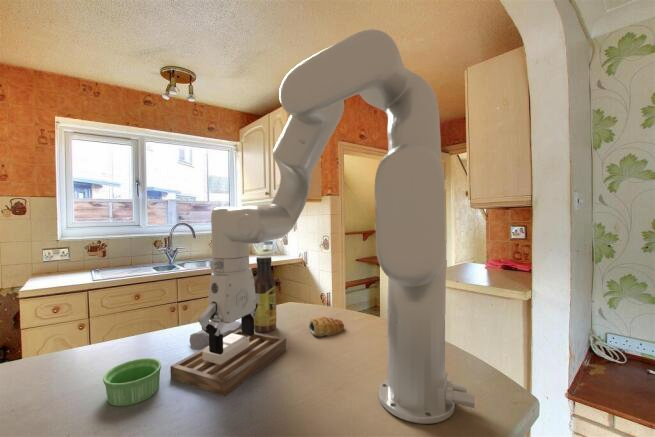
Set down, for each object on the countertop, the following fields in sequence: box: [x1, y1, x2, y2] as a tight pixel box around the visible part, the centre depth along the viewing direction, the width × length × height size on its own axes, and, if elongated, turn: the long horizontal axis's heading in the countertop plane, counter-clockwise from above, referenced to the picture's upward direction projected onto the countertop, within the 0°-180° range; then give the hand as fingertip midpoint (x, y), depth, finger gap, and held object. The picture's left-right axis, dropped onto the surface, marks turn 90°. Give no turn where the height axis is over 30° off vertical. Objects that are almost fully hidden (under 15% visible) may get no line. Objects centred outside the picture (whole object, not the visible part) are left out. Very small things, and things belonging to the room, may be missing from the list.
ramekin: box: [102, 357, 162, 407], centre depth 57 cm, size 9×9×4 cm
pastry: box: [308, 316, 345, 337], centre depth 84 cm, size 9×7×4 cm
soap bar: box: [202, 333, 249, 365], centre depth 68 cm, size 5×9×3 cm, turn 155°
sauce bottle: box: [253, 255, 277, 333], centre depth 86 cm, size 6×6×20 cm
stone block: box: [189, 320, 242, 350], centre depth 80 cm, size 12×5×10 cm
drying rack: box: [169, 329, 287, 397], centre depth 68 cm, size 14×20×2 cm
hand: (233, 343), depth 68 cm, fingers open, 9 cm apart
